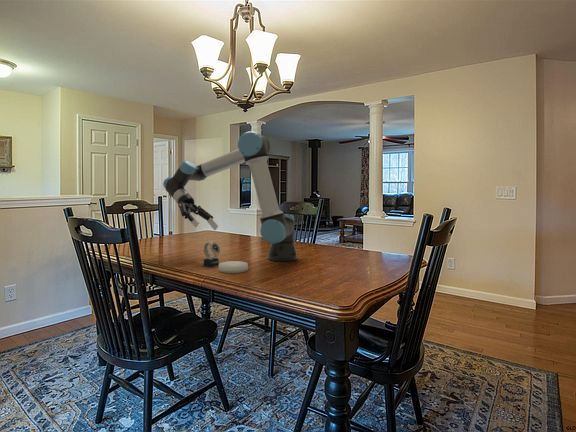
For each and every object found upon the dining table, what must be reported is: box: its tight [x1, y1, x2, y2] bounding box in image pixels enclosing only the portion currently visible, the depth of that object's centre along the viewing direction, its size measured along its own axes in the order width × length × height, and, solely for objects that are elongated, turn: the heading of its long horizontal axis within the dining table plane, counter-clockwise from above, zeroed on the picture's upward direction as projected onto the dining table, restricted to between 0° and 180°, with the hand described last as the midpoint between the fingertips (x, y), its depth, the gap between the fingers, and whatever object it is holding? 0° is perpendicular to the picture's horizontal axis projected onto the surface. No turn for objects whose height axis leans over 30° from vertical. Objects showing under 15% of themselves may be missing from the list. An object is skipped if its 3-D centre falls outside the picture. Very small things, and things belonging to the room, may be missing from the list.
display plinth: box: [218, 260, 249, 274], centre depth 164 cm, size 13×13×2 cm
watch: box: [203, 241, 221, 268], centre depth 171 cm, size 6×8×11 cm
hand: (207, 226), depth 173 cm, fingers open, 13 cm apart
